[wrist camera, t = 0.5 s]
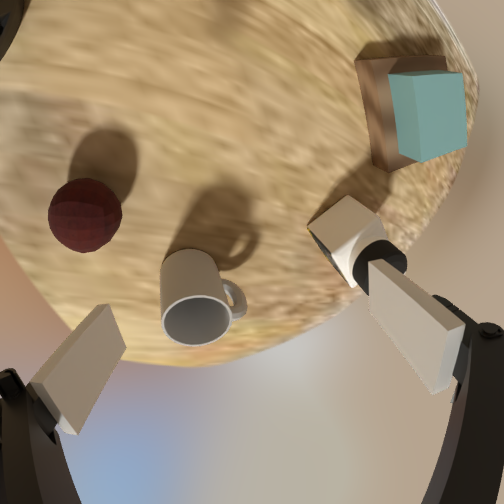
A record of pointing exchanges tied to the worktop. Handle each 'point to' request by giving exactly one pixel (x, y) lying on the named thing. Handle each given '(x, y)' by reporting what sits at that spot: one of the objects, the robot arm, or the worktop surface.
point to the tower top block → (429, 113)
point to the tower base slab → (388, 103)
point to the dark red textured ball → (84, 215)
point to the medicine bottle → (354, 241)
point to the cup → (197, 299)
